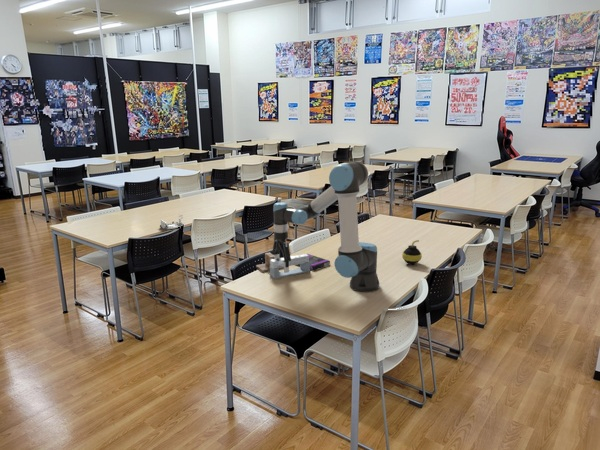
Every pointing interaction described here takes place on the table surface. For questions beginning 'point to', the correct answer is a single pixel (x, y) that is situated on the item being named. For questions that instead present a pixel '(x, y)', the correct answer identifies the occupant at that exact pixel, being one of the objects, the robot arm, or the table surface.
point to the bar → (294, 261)
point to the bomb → (412, 254)
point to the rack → (290, 271)
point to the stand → (266, 263)
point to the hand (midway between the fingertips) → (281, 268)
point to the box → (317, 262)
